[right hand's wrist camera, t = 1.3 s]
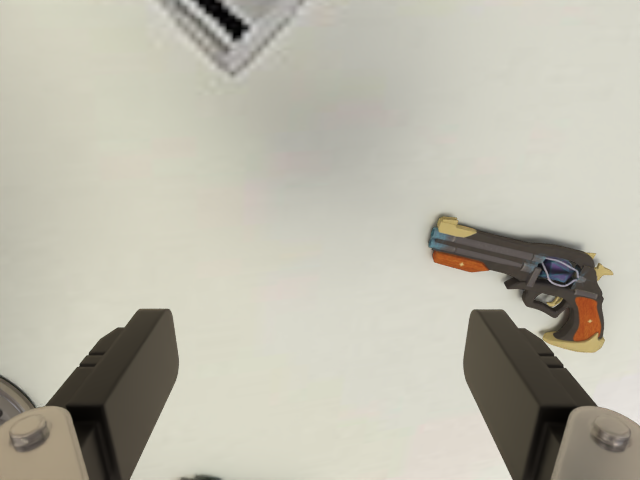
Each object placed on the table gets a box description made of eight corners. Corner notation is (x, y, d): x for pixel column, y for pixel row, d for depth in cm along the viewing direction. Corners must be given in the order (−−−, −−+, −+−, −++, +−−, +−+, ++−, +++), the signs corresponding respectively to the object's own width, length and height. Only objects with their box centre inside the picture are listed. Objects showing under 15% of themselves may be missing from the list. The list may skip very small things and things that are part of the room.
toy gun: (601, 361, 40) (663, 273, 35) (405, 315, 40) (441, 221, 35) (588, 342, 42) (644, 258, 38) (403, 299, 42) (437, 208, 38)
